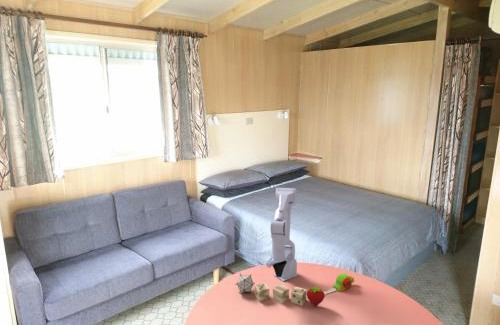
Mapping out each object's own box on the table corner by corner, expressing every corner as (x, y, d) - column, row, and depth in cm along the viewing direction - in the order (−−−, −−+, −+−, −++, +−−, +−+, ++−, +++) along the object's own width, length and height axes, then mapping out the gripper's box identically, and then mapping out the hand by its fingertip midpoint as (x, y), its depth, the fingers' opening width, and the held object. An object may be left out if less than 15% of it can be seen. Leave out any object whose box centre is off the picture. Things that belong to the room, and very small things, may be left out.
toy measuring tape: (358, 287, 159) (358, 274, 158) (324, 298, 151) (325, 285, 150) (348, 281, 165) (349, 268, 164) (315, 291, 157) (316, 278, 155)
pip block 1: (265, 293, 156) (264, 282, 155) (269, 299, 151) (269, 288, 150) (254, 295, 154) (254, 285, 153) (258, 301, 149) (258, 290, 149)
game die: (246, 301, 156) (244, 292, 149) (233, 289, 160) (230, 280, 153) (259, 286, 160) (257, 277, 153) (245, 275, 164) (243, 266, 157)
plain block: (280, 294, 155) (280, 284, 154) (289, 298, 151) (289, 288, 150) (273, 298, 151) (273, 288, 150) (281, 303, 148) (281, 293, 147)
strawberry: (324, 311, 142) (325, 289, 140) (306, 309, 143) (306, 287, 141) (324, 303, 147) (324, 281, 146) (306, 301, 149) (306, 280, 147)
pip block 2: (295, 296, 152) (295, 286, 152) (306, 299, 150) (306, 289, 149) (291, 302, 148) (291, 292, 147) (302, 306, 146) (302, 295, 145)
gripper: (281, 239, 156) (281, 267, 159) (260, 250, 146) (261, 279, 148) (294, 244, 151) (294, 272, 154) (273, 255, 141) (273, 285, 143)
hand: (278, 276), depth 151 cm, fingers closed
